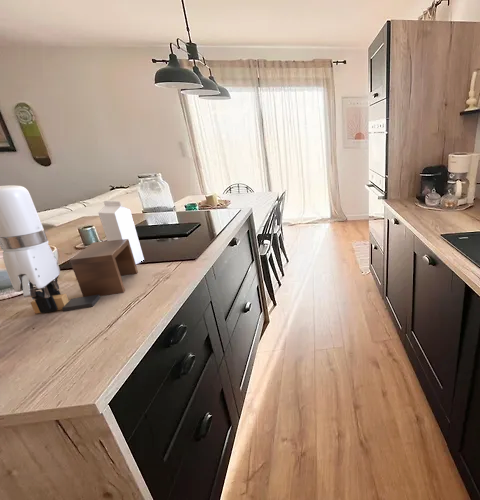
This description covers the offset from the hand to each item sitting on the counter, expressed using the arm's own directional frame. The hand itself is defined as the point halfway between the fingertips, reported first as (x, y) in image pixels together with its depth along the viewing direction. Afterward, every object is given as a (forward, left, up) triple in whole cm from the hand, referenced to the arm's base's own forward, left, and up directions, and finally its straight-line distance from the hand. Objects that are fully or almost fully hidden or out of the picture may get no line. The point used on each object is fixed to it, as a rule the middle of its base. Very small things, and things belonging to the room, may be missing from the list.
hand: (52, 307), depth 73 cm
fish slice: (+3, 0, 0) cm, 3 cm away
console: (+10, +11, 0) cm, 15 cm away
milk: (+10, +28, -1) cm, 30 cm away
